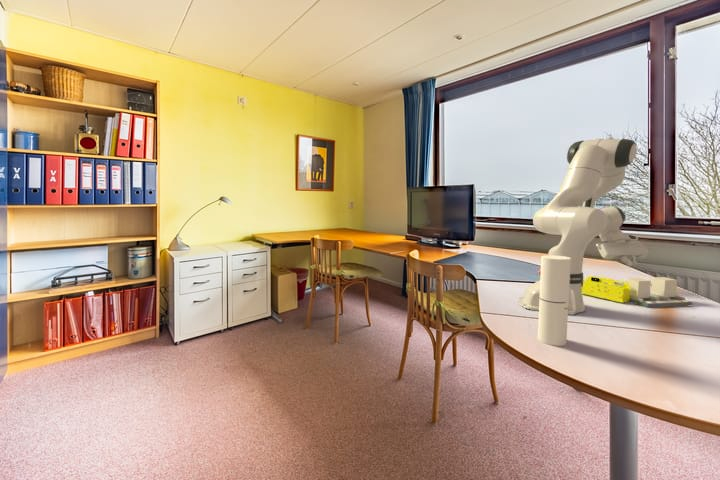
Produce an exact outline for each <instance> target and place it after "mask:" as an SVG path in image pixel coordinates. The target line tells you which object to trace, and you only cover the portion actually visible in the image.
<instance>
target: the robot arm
mask: <svg viewBox="0 0 720 480" xmlns="http://www.w3.org/2000/svg"><path fill="white" fill-rule="evenodd" d="M637 149H638V148H637V143H636V142H635V141H634V140H632V139H628V138H622V139H618V138H615V139H610V138H608V139H607V138H606V139H604V138H597V139H596V138H595V139H589V140H580V141H575V142H574V143H573V144H571V145H570V146H569V147H568V149H567V153H566V160H567V163H568V164H569V165H568V167H567V170H566V173H565V176H564V179H563V180H562V183H561V185H560V189H559V190H558V191H557V193H556V194H555V196H554V197H553V198H552V199H551V200H550V201H549V202H548V203H547V204H545V206H543V207H542V208H540V209H538V210H536V212H535V213H534V215H533V218H532V223H533V227H534V228H535V230H536V231H538V232H541V233H544V234H547V235H556V236H561V239H560V241H559V243H558V244H557V245H555V246H553V247H551V248H550V249H549V250H548V253H547V255H556V256H565V257H570V258H571V264H570V283H569V303H568V315H570V316H571V315H572V316H573V315H576V314H578V313H583V312H585V311H586V308H585V302H584V298H583V297H584V296H583V294H582V287H583V280H584V272H583V264H584V257H585V251H586V249H587V247H588V246H589V244H590V243H591V241H592V240H594V239H595V238H596V237H599V238H600V241H599V240H598V241H597V242H596V243H595V246H596V248H597V249H598V252H599V255H600V256H601V257H602V258H603V259H604V260H621V261H622V262H624V263H625V264H626V265H627V266H628V267H636V266H638V262H637V261H636V259H645V258H646V257H647V256H648V255H649V254H650V252H649V250H648V249H647V247H646V246H645V245H644V243H642V241H640V240H639V238H638V236H636V235H632V234H627V233H624V232H623V231H622V230H621V229H620V227H622V226H623V224H624V223H625V221H626V219H627V217H626V214H625V212H624V210H622V209H621V208H619V207H618V206H614V205H611V206H607V207H604V208H596V207H595V203H596V202H597V201H598V199H600V198H601V197H603V196H605V195H606V194H607V193H609V192H611V191H613V190H615V189H616V188H618V187H619V186H620V185H621V184H622V183H623V182H624V179H625V176H626V167H628V166H629V165H631V164H632V163H633V162H634V160H635V158H636V156H637V153H638V150H637ZM538 274H539V275H541V268H540V269H539V270H538ZM539 299H540V279H539V280H537V281H535V282H534V283H532V284H530V285H528V286H527V287H526V289H525V291H524V296H520V297H519V298H518V299H517V303H518V302H519V303H518V304H519V306H520V307H522V306H523V307H522V308H524V309H526V308H527V309H526V310H529V309H530V310H531V311H537V312H539Z"/></svg>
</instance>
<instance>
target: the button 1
mask: <svg viewBox="0 0 720 480" xmlns="http://www.w3.org/2000/svg"><path fill="white" fill-rule="evenodd" d="M626 283H627V284H628V285H629V286H630V295H631V296H634V297H637V298H650V293H651V283H652V280H648V279H644V278H640V277H631V278H630V277H628V278H626Z"/></svg>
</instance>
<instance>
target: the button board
mask: <svg viewBox="0 0 720 480" xmlns="http://www.w3.org/2000/svg"><path fill="white" fill-rule="evenodd" d="M627 302H628V303H632V304H635V305H637V306H641V307H643V308H646V309H650V308H654V309H655V308H669V307H670V308H671V307H672V308H673V307H677V306H678V307H688V306H687V305H692V306H693V302H692V301H690V300H686V297H684V296H680V295H677V294H676V297H664V296H660V295H656V294H653V293H651V292H650V298H637V297H634V296H631V295H630V297H629V301H627Z"/></svg>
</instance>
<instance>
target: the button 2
mask: <svg viewBox="0 0 720 480" xmlns="http://www.w3.org/2000/svg"><path fill="white" fill-rule="evenodd" d="M677 287H678V279H675V278H670V277H665V276H657V277H656V276H655V277H652V279H651V286H650V293H653V294H656V295H660V296H664V297H676V295H677V289H678V288H677Z"/></svg>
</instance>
